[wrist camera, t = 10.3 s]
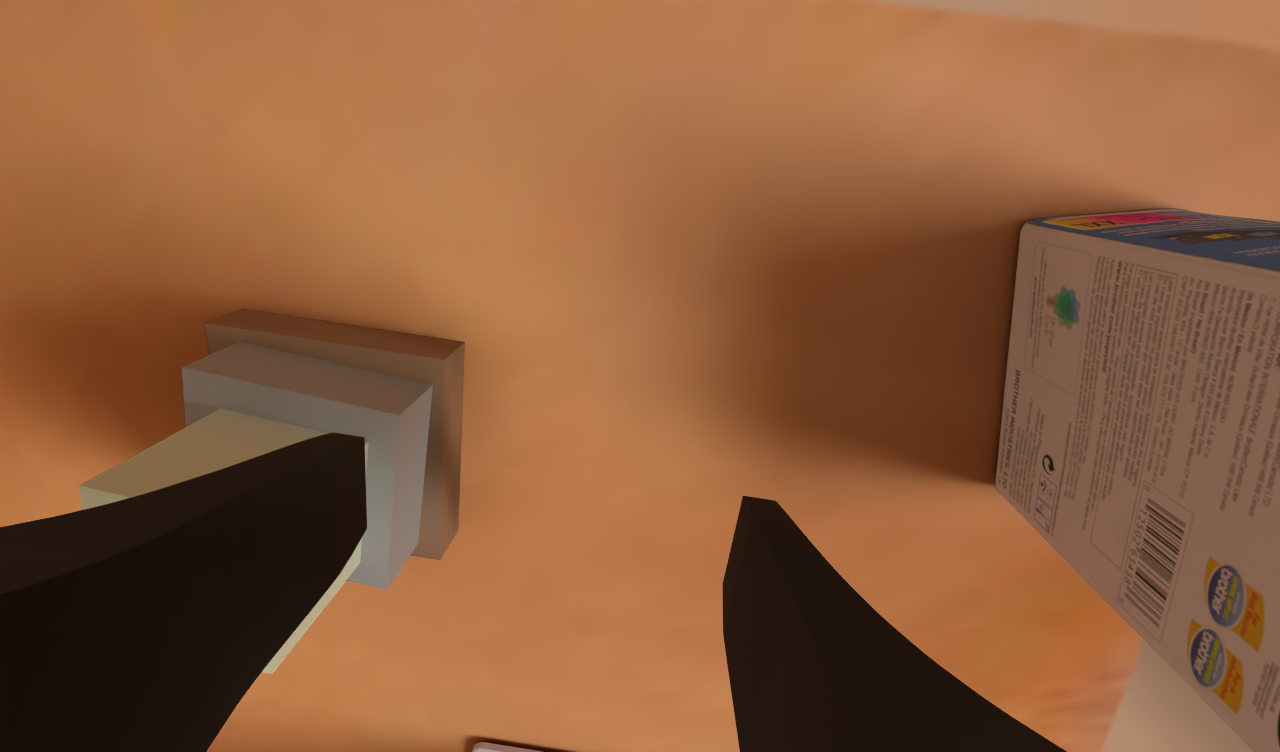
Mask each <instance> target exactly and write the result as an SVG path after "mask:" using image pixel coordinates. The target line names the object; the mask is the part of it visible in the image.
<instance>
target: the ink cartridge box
mask: <svg viewBox="0 0 1280 752" xmlns="http://www.w3.org/2000/svg"><path fill="white" fill-rule="evenodd" d="M995 487H996V489H997V491H998V492H999V493H1000V494H1001V495H1002V496H1003V497H1004V498H1005V499H1006V500H1007V501H1008V502H1009V503H1010V504H1011V505H1012V506H1013V507H1014V508H1015V509H1016V510H1017V511H1018V512H1019V513H1020V514H1021V515H1022V516H1023V517H1024V518H1025V519H1026V520H1027V521H1028V522H1029V523H1030V524H1031V525H1032V526H1033V527H1034V528H1035V529H1036V530H1037V531H1038V532H1039V533H1040V534H1041V535H1042V537H1043V538H1044V539H1045V540H1046V541H1047V542H1049V543H1050V544H1051V545H1052V546H1053V547H1054V549H1055V550H1056V551H1057V552H1058V553H1059V554H1060V555H1061V556H1062V557H1063V558H1064V559H1065V560H1066V561H1067V562H1068V563H1069V564H1070V565H1071V566H1072V567H1073V568H1074V569H1075V570H1076V571H1077V572H1078V573H1079V574H1080V575H1081V576H1082V577H1083V578H1084V579H1085V580H1086V581H1087V582H1088V583H1089V584H1090V585H1091V586H1092V587H1093V588H1094V589H1095V590H1096V591H1097V592H1098V593H1099V594H1100V595H1101V596H1102V597H1103V598H1104V599H1105V600H1106V601H1107V602H1108V603H1109V604H1110V605H1111V606H1112V607H1113V608H1114V609H1115V610H1116V611H1117V612H1118V613H1119V614H1120V616H1121V617H1122V618H1123V619H1124V620H1125V621H1126V622H1127V623H1128V624H1129V625H1130V626H1131V627H1132V628H1133V629H1134V630H1135V631H1136V632H1137V633H1138V634H1139V635H1140V636H1141V637H1142V638H1143V639H1144V640H1145V641H1146V642H1147V643H1148V644H1149V645H1150V646H1151V647H1152V648H1153V649H1154V650H1155V651H1156V652H1157V653H1158V654H1159V655H1160V656H1161V657H1162V658H1163V659H1164V660H1165V661H1166V662H1167V663H1168V664H1169V665H1170V666H1171V667H1172V668H1173V669H1174V670H1175V671H1176V672H1177V673H1178V675H1179V676H1181V677H1182V678H1183V679H1184V680H1185V681H1186V682H1187V683H1188V684H1189V685H1190V686H1191V687H1192V688H1193V689H1194V690H1195V691H1196V692H1197V693H1198V694H1199V695H1200V696H1201V698H1202V699H1203V700H1204V701H1205V702H1206V703H1207V704H1208V705H1210V706H1211V708H1212V709H1213V710H1214V711H1215V712H1216V713H1217V714H1218V715H1219V716H1220V717H1221V718H1222V719H1223V720H1224V721H1225V722H1226V723H1227V724H1228V725H1229V726H1230V727H1231V728H1232V729H1233V730H1234V731H1235V732H1236V733H1237V734H1238V735H1239V736H1240V737H1241V738H1242V739H1243V740H1244V742H1245V743H1246V744H1247V745H1248V746H1250V748H1251V749H1252V750H1253V751H1254V752H1280V222H1275V221H1267V220H1259V219H1250V218H1240V217H1229V216H1221V215H1211V214H1205V213H1198V212H1192V211H1188V210H1181V209H1155V210H1143V211H1130V212H1117V213H1103V214H1090V215H1077V216H1065V217H1054V218H1044V219H1035V220H1030V221H1027V222H1026V223H1025V224H1024V226H1023V227H1022V229H1021V232H1020V240H1019V252H1018V262H1017V272H1016V282H1015V292H1014V302H1013V312H1012V322H1011V331H1010V341H1009V351H1008V361H1007V371H1006V381H1005V390H1004V401H1003V412H1002V421H1001V431H1000V442H999V453H998V463H997V472H996V481H995Z"/></svg>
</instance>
